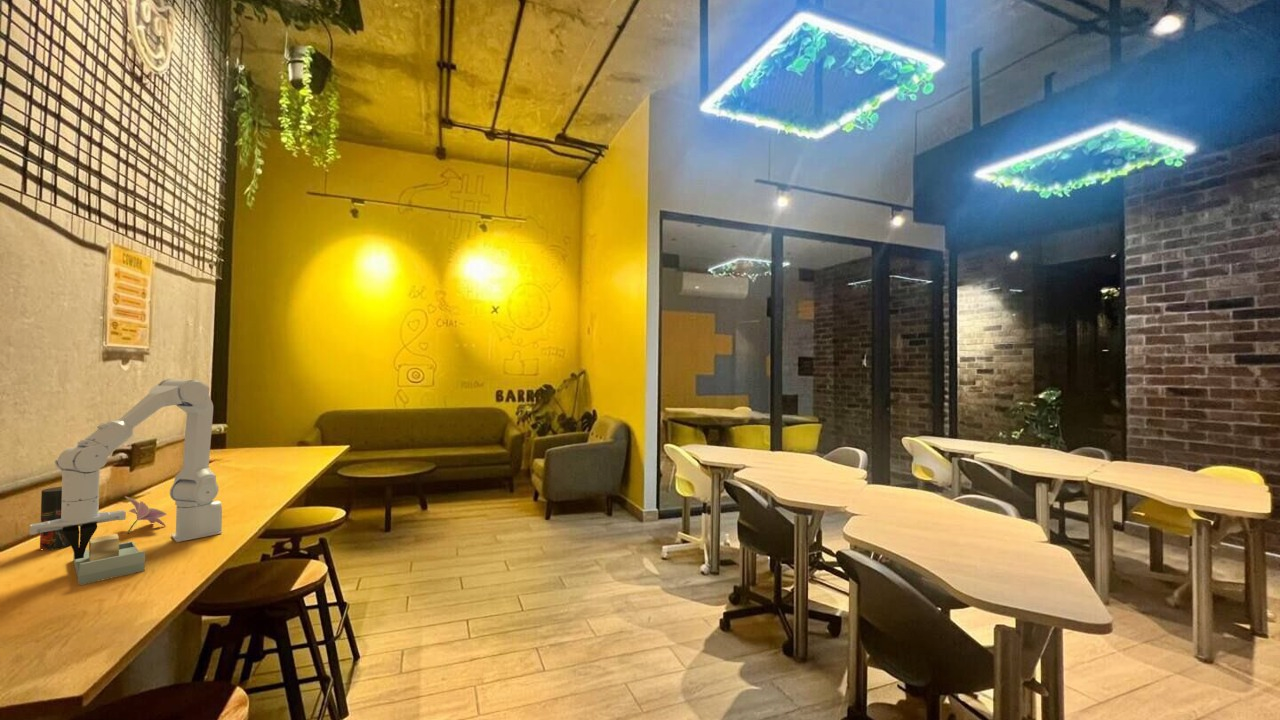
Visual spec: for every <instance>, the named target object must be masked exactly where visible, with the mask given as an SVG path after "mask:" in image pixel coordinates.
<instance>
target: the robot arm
mask: <svg viewBox="0 0 1280 720" xmlns="http://www.w3.org/2000/svg"><path fill="white" fill-rule="evenodd" d="M171 406H177V407H178V408H180V410H182V411H184V412H185V413H186V420H185V422H186V423H185V433H184V444H183V447H184V448H183V456H182V457H183V458H182V468H181V470H180V471H179V472H178V473H177V474H175V476H174V481H173V484H172V485H171V487H170V489H169V496H170V498H171V499H172V500H173V501H175V502H174V504H175V505H176V507H175V509H176V513H175V514H176V515H175V523H176V524H175V533H171V537H172V539H174V541H175V542H176V543H181V542H185V541H189V540H190V541H191V540H196V539H200V538H201V539H202V538H205V537H211V536H215V535H221V534H222V533H223V531H222V523H223V521H222V520H223V519H222V518H223V510H222V509H223V507H222V502H221V501H220V500H215V499H216V498H217V496H218V494H219V486H218V484H217V479H216V478H217V475H216V474H215V473H214V472H213V471H212V470H211V469H210V468H209V466H210V456H211V442H212V441H211V440H212V431H213V429H212V428H213V416H214V404H213V401H212V399H211V396H210V386H208V385H207V384H206V383H204V382H203V381H201V380H200V379H175V378H166V379H164V380H163V379H162V381H160V382H159V383H158V384H157V385H155V386H153V387H151V389H150V391H149V393H148V394H147V395H145V396H144V397H143V398H142V399H141V400H140V401H138V402H137V403H136V404H135V405H134V406H132V407H131V408H130V409H129V410H127V412H126V413H125V414H124V415H122V416H121V417H120V418H119V419H118V420H108V421H106V422H103V423H100V424H98V425H97V426H96V427H97V429H96V430H95V431H93V432H92V433H91V434H90V435H88V436H87V437H86V438H85V439H81V440H79V441H78V442H77V445H76V446H72V447H68V448H66V449H64V450H63V451H62V452H61V453H60V454H59V456H58V458H57V459H55V460H54V465H55V467H56V468H57V469H58V470H60V472H61V477H62V478H61V487H62V506H61V519H57V520H52V521H47V522H42V523H41V522H37V523H32V524H31V523H30V525H29V535H30V536H32V535H38V534H40V533H41V532H47V531H53V530H59V529H62V532H63V534H64V536H65V537H66V538H67V540H68V541H69V543H70V545H71V546H70V547H71V549H72V552H73V558H75V559H80V558H84V553H85V550H87V547H88V546H89V541H90V539H91V538H93V535H94V534H95V533H96V531H97V529H98V524H100V523H101V524H102V523H107V522H114V521H122V520H123V521H124V520H126V518H127V517H126V512H127V511H126V510H124V509H122V510H115V511H107V512H106V511H105V512H99V509H100V508H99V505H100V503H99V502H100V473H101V472H100V471H101V469H102V468H103V467H105V465H106V464H107V463H108V458H109V456H110V455H111V454H112V453H113V452H114V451H116V450H117V449H118V448H119V447H120V446H122V445H123V444H124V443H125V442H126V441H128V440H129V439H131V437H133V429H135V428H136V427H137V426H138V425H140V424H141V423H142V422H144V421H146V420H147V419H149V417H151V416H152V415H153V414H156V413H157V412H158V411H159V410H161V408H164V407H171Z"/></svg>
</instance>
